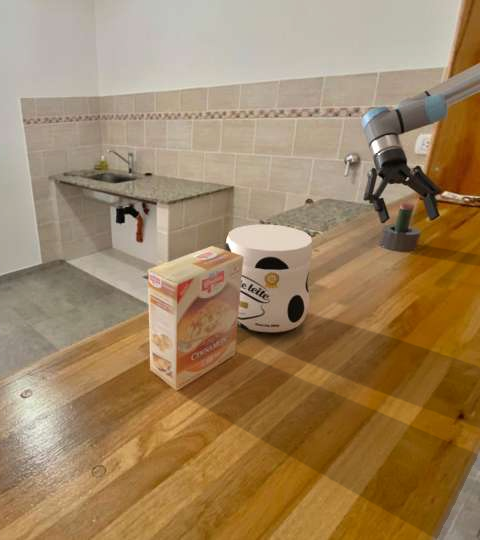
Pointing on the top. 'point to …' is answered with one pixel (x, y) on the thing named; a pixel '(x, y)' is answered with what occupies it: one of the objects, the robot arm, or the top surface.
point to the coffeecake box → (193, 314)
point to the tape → (399, 238)
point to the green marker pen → (404, 217)
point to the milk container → (272, 276)
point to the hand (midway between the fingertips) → (410, 219)
